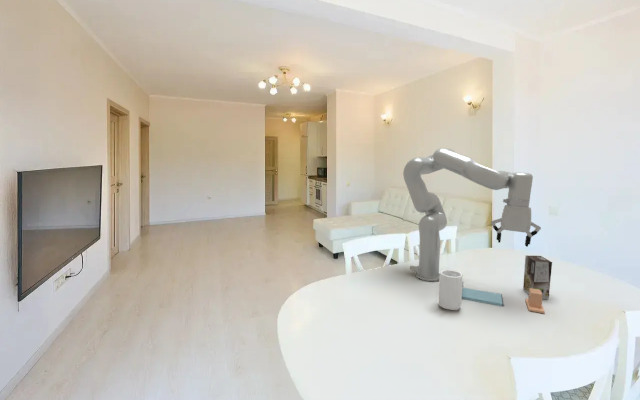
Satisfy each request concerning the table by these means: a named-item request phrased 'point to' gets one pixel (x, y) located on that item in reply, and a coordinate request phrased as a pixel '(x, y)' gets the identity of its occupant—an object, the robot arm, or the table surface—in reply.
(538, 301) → the tan stepped block
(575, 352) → the table surface
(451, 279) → the cup
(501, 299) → the gray-edged light blue slab
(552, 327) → the table surface
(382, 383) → the table surface
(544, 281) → the coffee box
